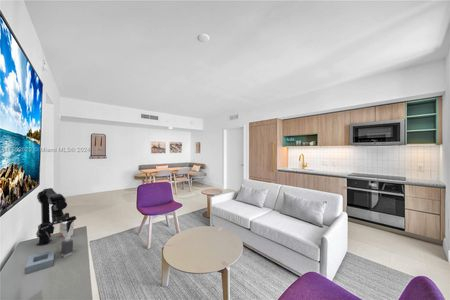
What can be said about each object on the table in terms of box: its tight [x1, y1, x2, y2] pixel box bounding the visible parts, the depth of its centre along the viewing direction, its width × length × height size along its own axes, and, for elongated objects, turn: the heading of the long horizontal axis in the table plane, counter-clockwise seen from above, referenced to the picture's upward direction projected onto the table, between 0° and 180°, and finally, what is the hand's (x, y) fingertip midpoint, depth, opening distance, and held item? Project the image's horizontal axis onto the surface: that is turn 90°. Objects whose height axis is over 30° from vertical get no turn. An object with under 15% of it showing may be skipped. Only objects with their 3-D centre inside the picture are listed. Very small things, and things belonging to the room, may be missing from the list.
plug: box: [60, 236, 74, 258], centre depth 122 cm, size 4×4×12 cm
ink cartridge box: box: [58, 218, 75, 238], centre depth 148 cm, size 9×5×15 cm, turn 84°
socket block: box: [24, 249, 55, 275], centre depth 111 cm, size 14×12×4 cm
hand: (59, 234), depth 120 cm, fingers open, 9 cm apart
